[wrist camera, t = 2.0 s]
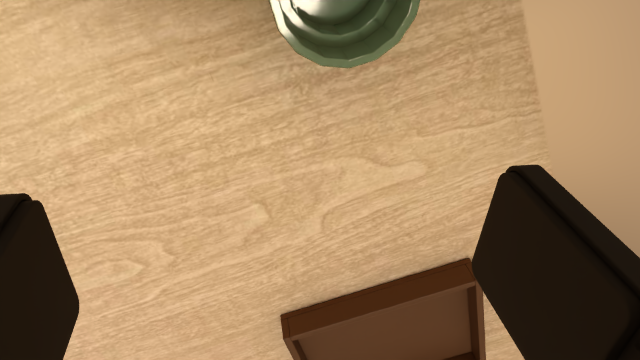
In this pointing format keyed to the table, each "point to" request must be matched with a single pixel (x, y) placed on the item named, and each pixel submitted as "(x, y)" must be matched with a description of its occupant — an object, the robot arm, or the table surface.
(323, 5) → the bowl
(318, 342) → the tray
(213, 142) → the table surface
